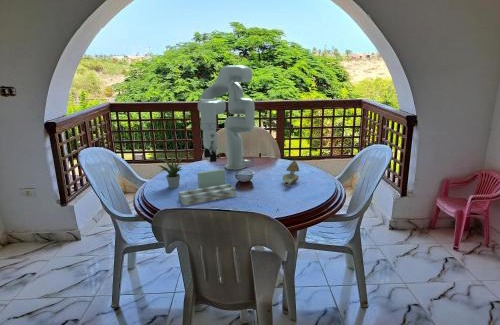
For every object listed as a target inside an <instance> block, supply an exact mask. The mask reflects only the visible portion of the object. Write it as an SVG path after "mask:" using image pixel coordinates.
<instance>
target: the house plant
mask: <svg viewBox="0 0 500 325" xmlns="http://www.w3.org/2000/svg"><path fill="white" fill-rule="evenodd" d="M170 159H171V161H169V160H168V159H167V158H165V159H162V158H161V161H163V162H161V161H160V163H162V164H163V165H165V163H166V167H165V166H163V165H160V164H159V165H158V164H157V166H158V167H160V168H161V171H165V172H167V173H168V174H167V175H166V176H165V177H166V181H167V184H168V188H169V189H176V188H177V189H178V188H180V179H181V178H180V177H181V175H180V173H178V172H181V171H182V170H183V168H184V167H182V166H180V165H181V162H182V160H183V159H186V157H182V158H175V160H174V156H171V158H170ZM177 161H178V162H177ZM164 162H165V163H164Z"/></svg>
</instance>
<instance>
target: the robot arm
mask: <svg viewBox="0 0 500 325" xmlns="http://www.w3.org/2000/svg"><path fill="white" fill-rule="evenodd" d="M252 79H253V70H252V68H251V67H250V66H246V65H242V64H241V65H238V64H237V65H235V64H234V65H229V64H228V65H224V66H222V67H221V68H220V70H219V72H218V74H217V77H216V79H215V82H214V83H213V84H211V85H210V86H209V87H207V88H206V89H205V90H204V91H202V93H201V95H200V97H199V99H198V102H197V110H198V112H199V113H200V125H201V127H200V128H201V130H202V143H203V153H204V158H206V159H207V158H209V162H210V163H215V162H216V163H217V150H218V148H219V147H218V135H217V115H222V114H224V113H225V111H226V108H227V106H228V108H227V109H228V112H229V114H231V115H235V116H228V117H226V118H225V119H224V128H225V129H224V130H225V133H226V134H225V135H226V153H227V163H226V164H225V168H226V169H227V170H230V171H231V170H232V171H235V170H237V171H238V170H242V169H245V168H246V164H250V163H251V159H244V156H243V155H244V152H243V151H244V149H243V148H244V147H243V144H244V143H243V137H242V136H241V134H240V133H242V134H243V133H244V134H245V133H246V134H248V133H252V132H253V130H254V126H255V110H256V109H255V101H254V100H253V98H245V97H244V88H243V87H242V86H241V84H240V83H249V82H251V81H252ZM227 93H228V103H227V104H228V105H227V104H226V102H225V100H223V99H217V98H218V97H221V96H224V95H226V94H227ZM215 98H216V99H215ZM237 115H245V116H237Z"/></svg>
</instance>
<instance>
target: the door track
mask: <svg viewBox="0 0 500 325" xmlns="http://www.w3.org/2000/svg"><path fill="white" fill-rule="evenodd" d="M232 196H234V197H237V193H236V187H232V184H231V183H225V185H218V186H212V187H206V188H200V189H199V188H195V189H188V190H181V191H179V192H178V199H179V200H180V202H181V204H182V205H183V206H187V205H194V204H199V203H205V202H210V201H216V199H217V200H221V199H227V197H228V198H233V197H232Z"/></svg>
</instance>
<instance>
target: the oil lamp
mask: <svg viewBox="0 0 500 325" xmlns="http://www.w3.org/2000/svg"><path fill="white" fill-rule="evenodd" d="M286 171H287V172H290V173H287V174H283V175H282V181H283V185H284V186H285V187H289V186H290V185H292V184H295V183H297V181H298V180H299V178H300V177H299V175H298V174H296V173H295V172H300V167H299V165H298V163H297V161H296V159H293V161H292V162H290V164H288V167H287V168H286Z"/></svg>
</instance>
